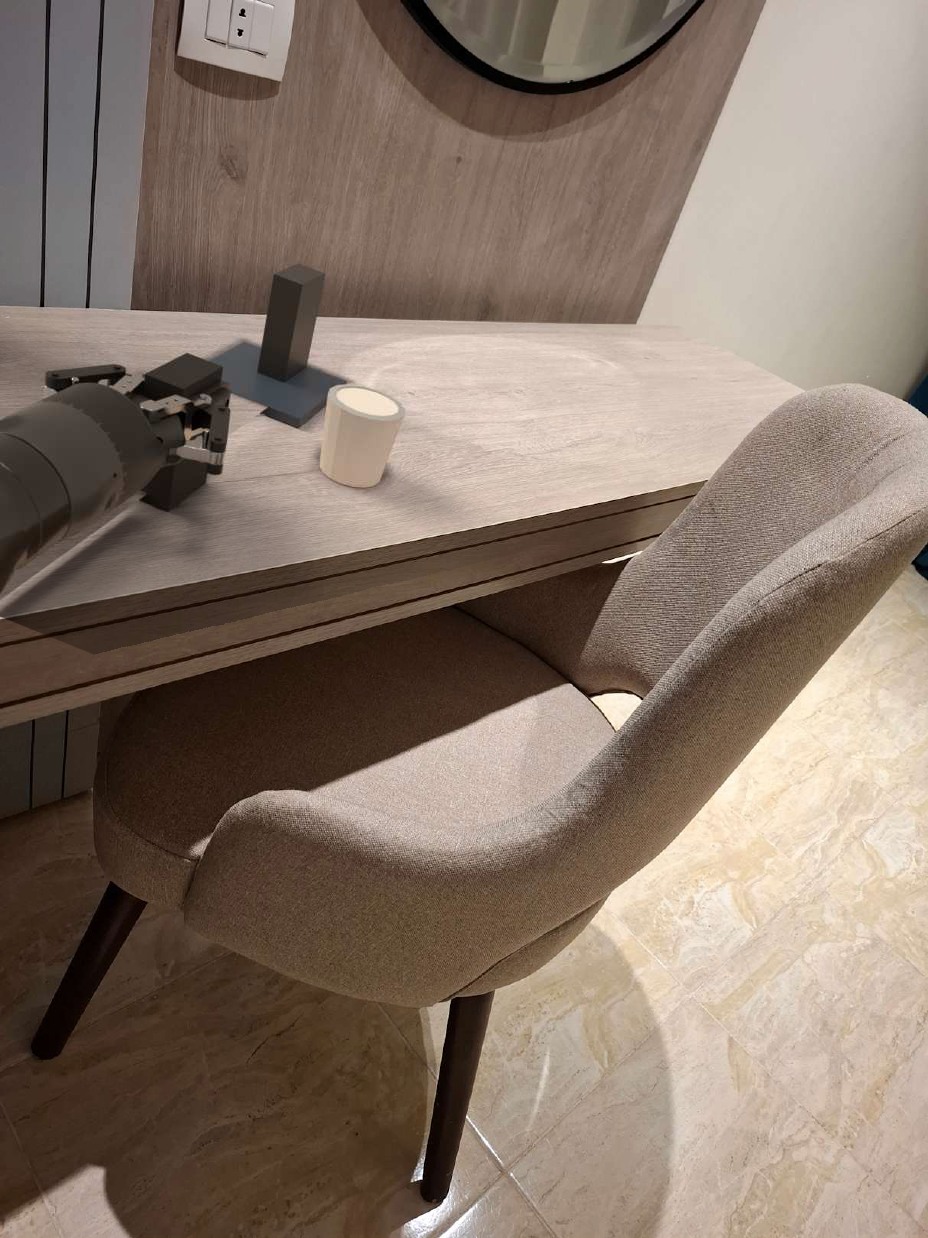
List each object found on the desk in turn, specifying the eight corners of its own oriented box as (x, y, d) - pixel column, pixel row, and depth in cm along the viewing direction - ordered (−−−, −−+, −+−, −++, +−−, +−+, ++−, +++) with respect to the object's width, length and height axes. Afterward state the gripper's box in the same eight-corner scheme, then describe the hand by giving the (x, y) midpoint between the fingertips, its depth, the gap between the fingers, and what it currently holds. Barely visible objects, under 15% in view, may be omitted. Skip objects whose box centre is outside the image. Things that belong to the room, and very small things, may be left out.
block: (132, 497, 68) (144, 373, 63) (172, 469, 73) (186, 352, 68) (168, 511, 68) (183, 388, 63) (206, 482, 73) (223, 366, 68)
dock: (182, 383, 87) (197, 268, 80) (242, 349, 97) (259, 246, 91) (298, 428, 86) (321, 315, 80) (345, 389, 97) (368, 288, 91)
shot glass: (401, 480, 83) (421, 411, 80) (354, 498, 78) (373, 425, 74) (345, 446, 86) (362, 378, 82) (296, 462, 80) (311, 389, 77)
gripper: (177, 450, 52) (295, 370, 66) (-44, 363, 53) (121, 303, 67) (164, 558, 56) (277, 460, 71) (-41, 476, 57) (113, 396, 71)
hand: (200, 384), depth 69 cm, fingers closed on block, 3 cm apart
